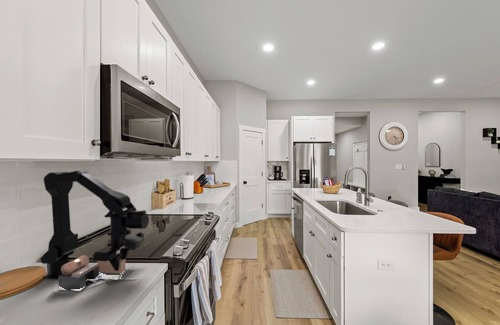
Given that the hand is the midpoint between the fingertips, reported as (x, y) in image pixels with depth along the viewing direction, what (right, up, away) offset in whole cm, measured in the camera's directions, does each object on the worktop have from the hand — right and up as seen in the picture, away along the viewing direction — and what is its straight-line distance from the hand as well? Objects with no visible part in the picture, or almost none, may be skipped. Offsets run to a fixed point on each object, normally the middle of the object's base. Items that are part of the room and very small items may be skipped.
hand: (119, 268), depth 83 cm
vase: (-13, -3, +14) cm, 19 cm away
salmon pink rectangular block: (-3, -1, 0) cm, 4 cm away
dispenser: (-11, -3, -6) cm, 12 cm away
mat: (-4, -3, 0) cm, 4 cm away
